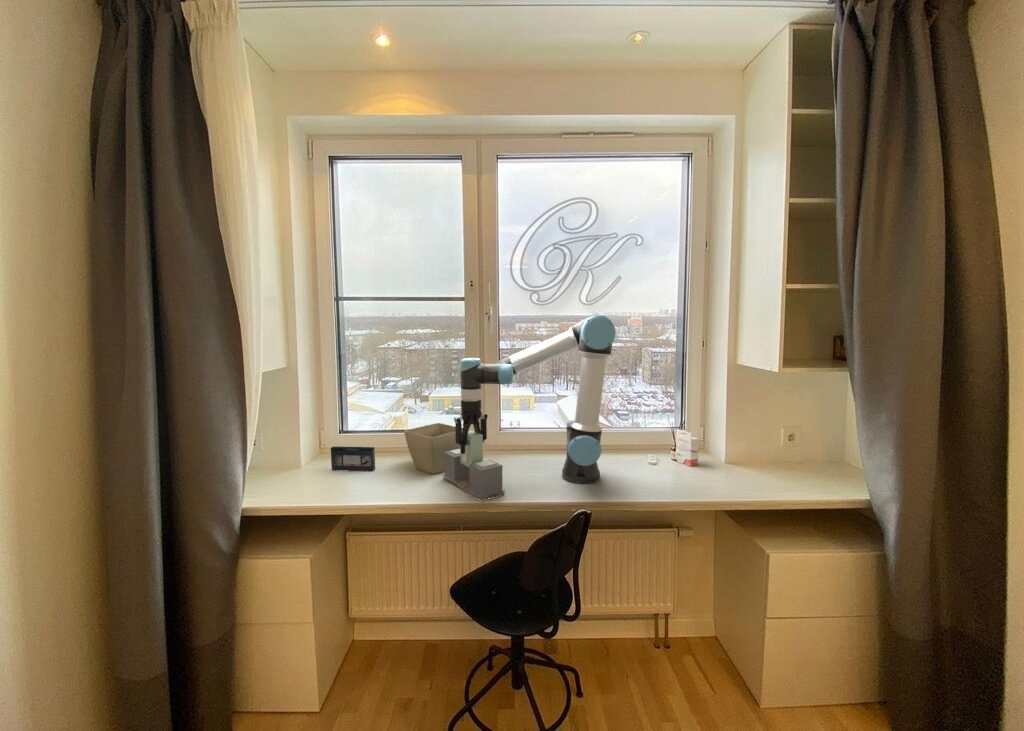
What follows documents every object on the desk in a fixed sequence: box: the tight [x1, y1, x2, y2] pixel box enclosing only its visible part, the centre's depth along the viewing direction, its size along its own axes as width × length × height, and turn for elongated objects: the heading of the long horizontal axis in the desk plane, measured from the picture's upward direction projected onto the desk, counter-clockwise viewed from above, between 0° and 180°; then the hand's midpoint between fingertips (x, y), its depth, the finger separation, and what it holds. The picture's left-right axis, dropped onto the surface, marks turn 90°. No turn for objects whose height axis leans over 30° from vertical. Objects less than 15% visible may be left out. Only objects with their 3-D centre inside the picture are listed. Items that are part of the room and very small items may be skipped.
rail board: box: [442, 474, 506, 501], centre depth 171 cm, size 10×28×2 cm, turn 37°
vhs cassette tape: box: [330, 446, 376, 472], centre depth 191 cm, size 18×3×10 cm, turn 83°
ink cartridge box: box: [675, 428, 699, 467], centre depth 197 cm, size 9×5×15 cm, turn 28°
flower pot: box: [403, 422, 463, 475], centre depth 192 cm, size 19×19×17 cm
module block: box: [460, 430, 484, 467], centre depth 170 cm, size 5×8×12 cm, turn 37°
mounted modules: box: [444, 449, 504, 497], centre depth 171 cm, size 9×27×11 cm, turn 37°
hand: (471, 460), depth 170 cm, fingers closed on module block, 5 cm apart
